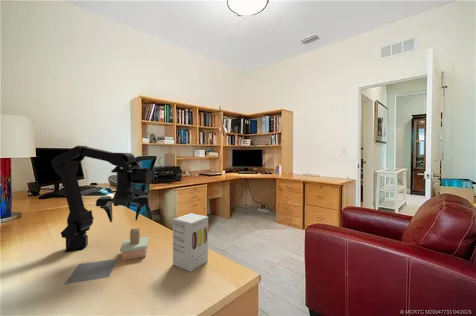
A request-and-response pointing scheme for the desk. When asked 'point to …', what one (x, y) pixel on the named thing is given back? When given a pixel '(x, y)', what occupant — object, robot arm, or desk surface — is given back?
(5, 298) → the desk surface
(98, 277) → the mat
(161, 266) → the desk surface
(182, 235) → the supplement box
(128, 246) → the lid
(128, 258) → the dish
